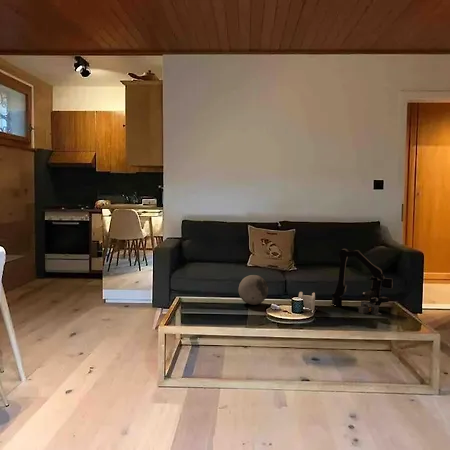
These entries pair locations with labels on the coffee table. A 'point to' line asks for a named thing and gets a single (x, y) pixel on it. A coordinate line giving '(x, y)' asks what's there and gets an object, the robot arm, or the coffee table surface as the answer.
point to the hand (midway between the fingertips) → (374, 309)
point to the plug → (364, 309)
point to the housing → (373, 307)
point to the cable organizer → (308, 300)
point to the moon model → (253, 289)
